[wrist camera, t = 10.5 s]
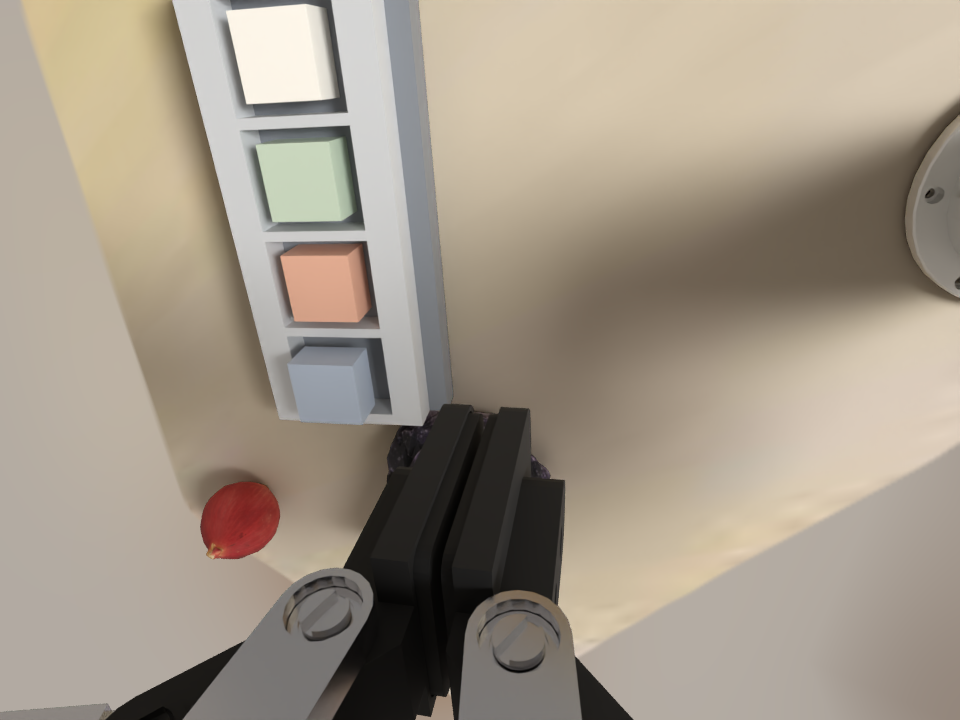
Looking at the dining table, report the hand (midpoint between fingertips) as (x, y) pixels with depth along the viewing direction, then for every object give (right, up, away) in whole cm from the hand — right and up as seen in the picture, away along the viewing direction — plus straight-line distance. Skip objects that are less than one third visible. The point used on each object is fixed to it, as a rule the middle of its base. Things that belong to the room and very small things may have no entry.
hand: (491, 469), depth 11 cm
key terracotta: (-9, +8, +25) cm, 28 cm away
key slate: (-9, +1, +26) cm, 28 cm away
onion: (-19, -9, +38) cm, 43 cm away
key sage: (-10, +13, +22) cm, 28 cm away
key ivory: (-10, +19, +20) cm, 29 cm away
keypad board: (-9, +11, +26) cm, 29 cm away
